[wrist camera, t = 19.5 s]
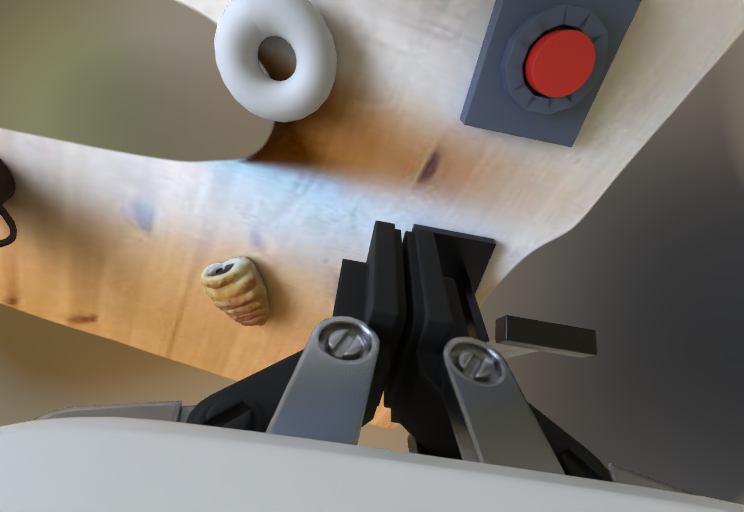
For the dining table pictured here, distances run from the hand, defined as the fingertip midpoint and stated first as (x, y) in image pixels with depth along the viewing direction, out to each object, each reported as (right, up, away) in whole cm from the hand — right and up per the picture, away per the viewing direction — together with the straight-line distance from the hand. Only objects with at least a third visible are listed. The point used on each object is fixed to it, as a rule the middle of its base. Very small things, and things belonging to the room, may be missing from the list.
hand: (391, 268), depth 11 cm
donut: (-8, +18, +22) cm, 29 cm away
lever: (+8, -5, +16) cm, 19 cm away
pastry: (-16, -3, +35) cm, 38 cm away
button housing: (+14, +17, +21) cm, 30 cm away
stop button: (+13, +15, +18) cm, 27 cm away
